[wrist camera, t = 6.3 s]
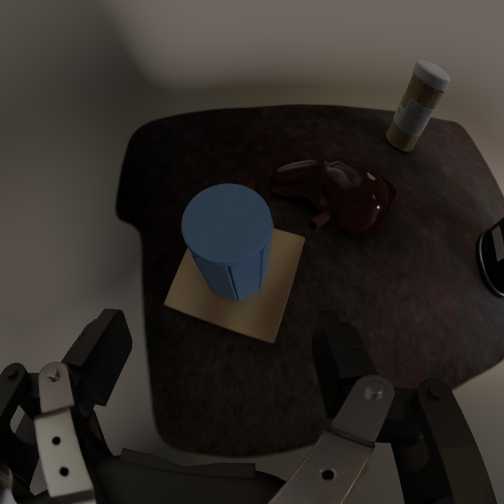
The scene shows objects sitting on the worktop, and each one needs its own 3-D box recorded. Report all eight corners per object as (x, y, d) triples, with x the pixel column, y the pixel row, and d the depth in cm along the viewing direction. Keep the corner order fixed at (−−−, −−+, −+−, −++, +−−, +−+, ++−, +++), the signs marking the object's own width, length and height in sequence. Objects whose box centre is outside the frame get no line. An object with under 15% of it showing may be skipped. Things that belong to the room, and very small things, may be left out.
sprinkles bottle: (389, 126, 33) (420, 54, 21) (415, 142, 32) (452, 74, 20) (381, 140, 32) (415, 62, 19) (409, 158, 31) (450, 84, 18)
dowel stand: (303, 242, 26) (324, 186, 17) (272, 344, 22) (283, 335, 14) (207, 214, 27) (188, 153, 19) (167, 306, 24) (123, 276, 15)
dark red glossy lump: (382, 228, 29) (357, 259, 22) (301, 182, 34) (250, 194, 27) (405, 180, 26) (391, 191, 18) (316, 136, 31) (268, 132, 23)
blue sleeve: (273, 252, 24) (282, 195, 16) (255, 307, 22) (254, 275, 14) (218, 236, 25) (202, 175, 17) (197, 288, 23) (166, 246, 15)
